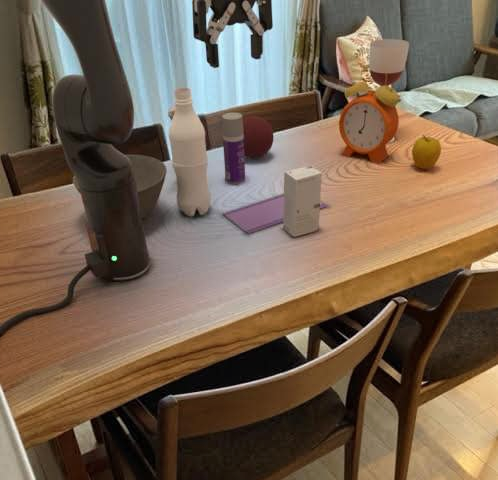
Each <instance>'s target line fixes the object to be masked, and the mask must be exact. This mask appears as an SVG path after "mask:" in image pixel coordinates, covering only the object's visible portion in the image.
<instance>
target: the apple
mask: <svg viewBox="0 0 498 480" xmlns="http://www.w3.org/2000/svg"><path fill="white" fill-rule="evenodd" d="M441 153H442V146H441V143H440V141H439V140H438V139H437V138H434V137H432V136H431V137H430V136H425V135H424V134H422V137H419V138H417V139H416V140H415V142H414V144H413V146H412V149H411V155H412V156H411V157H412V160H413V163H414V166H415V167H416V168H420V169H421V170H429V169H431V168H432V167H433V166H434V165H435V164H436V163H437V162H438V161H439V158H440V156H441Z"/></svg>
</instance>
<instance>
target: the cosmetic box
mask: <svg viewBox="0 0 498 480" xmlns="http://www.w3.org/2000/svg"><path fill="white" fill-rule="evenodd" d="M322 178H323V177H322V172H321V171H320V170H318V169H316V168H315V167H313V166H311V165H309V166H304V167H297V168H294V169H291V170H287V171H284V173H283V194H284V222H283V230H284V231H286V232H287V233H288V234H289V235H290V236H291V237H293V238H295V237H300V236H303V235H307V234H311V233H314V232H317V231H318V230H319V227H320V226H319V225H320V211H321V209H320V202H321V192H322V191H321V190H322Z"/></svg>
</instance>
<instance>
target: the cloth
mask: <svg viewBox="0 0 498 480" xmlns="http://www.w3.org/2000/svg"><path fill="white" fill-rule="evenodd" d="M327 207H328V205H327V204H325V203H323V202H321V201H320V210H322V209H324V208H327ZM222 216H224V217H225V218H226V219H228V220H229V221H230V222H231V223H233V224H234V225H236V227H238V228H239V229H240V230H242V232H244V233H245V234H246V235H250V234H253V233H256V232H258V231H262V230H265V229H267V228H270V227H273V226H276V225H280V224H281V223H284V193H282V194H279V195H276V196H273V197H269V198H267V199H264V200H260V201H258V202H254V203H251V204H248V205H245V206H242V207H239V208H236V209H232V210H229V211H226V212H224V213H222Z"/></svg>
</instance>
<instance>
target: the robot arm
mask: <svg viewBox="0 0 498 480" xmlns="http://www.w3.org/2000/svg"><path fill="white" fill-rule="evenodd" d="M40 1H41V2H42V4H43V6H44V7H45V8H46V9H47V11H48V12H49V14H50V15H51V16H52V18H53V19H54V20H55V21H56V23H57V24H58V26H59V27H60V29H61V30H62V31H63V33H64V34H65V36H66V37H67V39H68V41H69V42H70V44H71V46H72V48H73V51H74V52H75V55H76V57H77V59H78V62H79V65H80V69H81V72H82V74H67V75H65V76H63V77H61V78H60V79H59V80H58V81H57V83H56V84H55V86H54V88H53V91H52V98H51V109H52V115H53V120H54V124H55V127H56V132H57V134H58V138H59V141H60V144H61V147H62V150H63V153H64V157H65V161H66V163H67V166H68V167H69V170H70V171H71V173H72V174H73V176H74V175H75V176H76V179H77V182H78V185H79V189H80V193H81V194H80V193H79V194H80V198H81V201H82V205H83V210H84V212H85V213H84V214H85V218H86V221H85V222H84V226H85V230H86V235H87V238H88V242H89V246H90V250H91V251H90V252H87V253H84V255H83V256H84V259H85V262H86V266H84V267H83V268H82V269H80V271H79V272H78V273H76V274H75V276H74V277H72V279H71V281H70V282H69V284H68V287H67V294H66V297H65V298H64V299H63V300H62V301H60V302H58V303H56V304H53V305H50V306H45V307H38V308H33V309H29V310H25V311H22V312H20V313H18V314H16V315H14V316H12V317H10V318H9V319H8V320H6V321H5V322H4V323H2V324H1V325H0V335H1V334H2V333H4V332H5V331H6V330H7V329H8V328H10V327H11V326H13V325H14V324H16V323H18V322H19V321H21V320H23V319H25V318H28V317H31V316H34V315H35V316H36V315H40V314H46V313H51V312H55V311H57V310H61V309H63V308H64V307H65V306H67V305H68V304H69V303H70V302H72V300H73V298H74V293H75V287H76V285H77V284H78V282H79V281H80V280H81V279H82V278H83V277H84V276H85V275H86V274H87V273H89V272H91V274H92V275H93V276H94V278H95V279H98V278H101V277H102V278H103V279H104V280H105V282H106V283H111V282H126V281H131V280H135V279H138V278H140V277H141V276H143V275H145V274H147V272H148V271H149V270H150V268H151V265H152V264H151V263H152V262H151V259H150V253H149V249H148V244H147V238H146V232H145V226H144V222H143V218H142V215H141V209H140V204H139V198H138V192H137V187H136V181H135V176H134V170H133V165H132V163H131V161H130V159H129V158H128V157H126V156H125V155H126V154H124V153H122V152H121V151H119V150H118V149H116V147H115V146H113V145H120V144H121V145H122V144H123V143H125V142H126V141H128V140H129V138H130V137H131V135H132V133H133V130H134V125H135V107H134V101H133V95H132V92H131V87H130V85H129V81H128V77H127V75H126V71H125V67H124V65H123V62H122V61H123V60H122V58H121V54H120V52H119V49H118V48H119V47H118V45H117V41H116V38H115V35H114V31H113V27H112V23H111V20H110V15H109V10H108V7H107V2H106V0H40ZM272 2H273V1H272V0H192V1H191V7H192V30H193V31H192V33H193V38H194V39H195V40H198V41H200V42H202V43H204V45H205V57H206V63H207V64H209V67H211V68H213V69H217V68H219V67H220V58H219V56H220V55H219V44H218V43H217V42H218V39H219V37H220V35H221V33H222V32H224V30H225V29H226V26H228V27H230V26H233V25H236V24H239V25H242V24H244V25H246V27H247V28H248V29H249V31H250V33H251V34H250V36H249V37H250V38H249V39H250V57H251V58H252V59H254V60H260V59H262V55H263V52H264V46H263V45H264V34H265V33H266V32H267V31H271V30H272V29H273V26H274V23H273V22H274V21H273V3H272ZM255 3H256V5H257V9H258V16H257V15H256V13H255V11H254V10H253V8H254V6H255ZM209 9H210V10H211V11H212V14H211V15H210V18H209V20H208V22H207V14H208V13H209Z"/></svg>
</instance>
